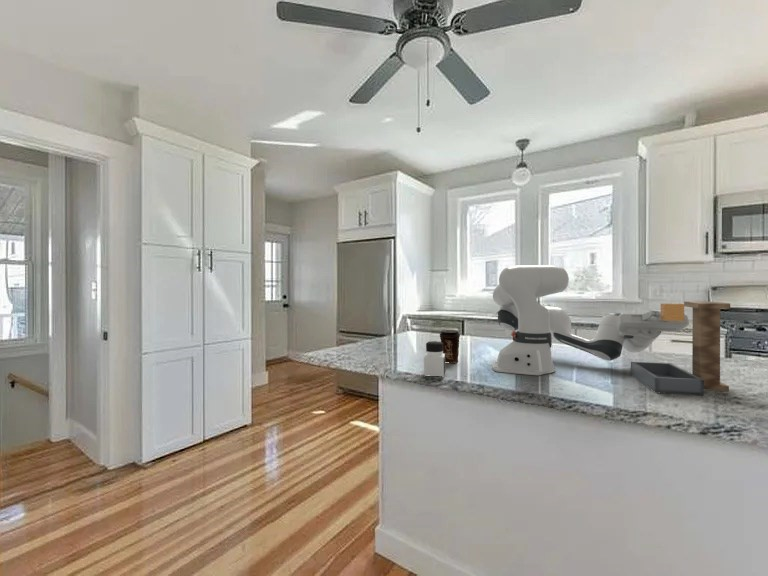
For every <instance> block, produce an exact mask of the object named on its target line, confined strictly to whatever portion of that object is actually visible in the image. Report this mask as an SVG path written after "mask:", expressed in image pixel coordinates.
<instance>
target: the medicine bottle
mask: <svg viewBox="0 0 768 576" xmlns="http://www.w3.org/2000/svg"><path fill="white" fill-rule="evenodd" d="M425 348H426V349H425V352H426V353H425V354H424V357H423V376H424V375H430V376H444V377H445V376H446V363H445V354H444V353H443V343H442V342H441V341H438V340H430V341H426V344H425Z"/></svg>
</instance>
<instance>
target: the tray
mask: <svg viewBox="0 0 768 576" xmlns="http://www.w3.org/2000/svg"><path fill="white" fill-rule="evenodd" d="M630 375H631V376H632V377H633V378H634V379H636V380H638V381H639V382H640V381H641V382H640V383H641V384H643V383H644V384H645V385H644V384H643V385H644V386H646V387H647V386H648V387H649V388H648V387H647V388H648V389H650V390H651V389H652V390H653V391H652V390H651V391H652V392H654V391H655V392H660V393H659V394H667V393H671V394H670V395H685V396H686V395H689V396H702V397H703V396H705V390H704V380H703V379H701V378H699V377H697V376H695V375H693V374H692V373H691V372H689V371H687V370H685V369H684V368H682V367H679V366H677V365H676V364H673V363H672V362H669V363H668V362H650V361H649V362H648V361H647V362H645V361H644V362H643V361H642V362H641V361H630ZM655 392H654V393H655Z"/></svg>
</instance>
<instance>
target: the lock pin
mask: <svg viewBox="0 0 768 576" xmlns="http://www.w3.org/2000/svg"><path fill="white" fill-rule="evenodd" d="M650 311H655V313H656V316H655V317H658V318H661V320H664V321H684V314H685V306H684V303H676V302H674V303H669V302H667V303H664V302H663V303H660V309H651V310H650Z"/></svg>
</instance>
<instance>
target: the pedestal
mask: <svg viewBox="0 0 768 576" xmlns="http://www.w3.org/2000/svg"><path fill="white" fill-rule="evenodd" d="M683 304H684V307H686V308H692V334H691V335H692V338H691V339H692V346H691V347H692V351H691V352H692V357H691V359H692V360H691V361H692V362H691V363H692V369H691V371H692V373H691V374H693V375H695V376H697V377H699V378H701V379H703V380H704V391H718V390H720V391H719V392H721V391H723V392H729V391H730V386H729V385H728V384H725V383H723V382H721V309H723V310H725V309H727V310H728V309H731V303H730V302H720V301H683Z"/></svg>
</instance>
